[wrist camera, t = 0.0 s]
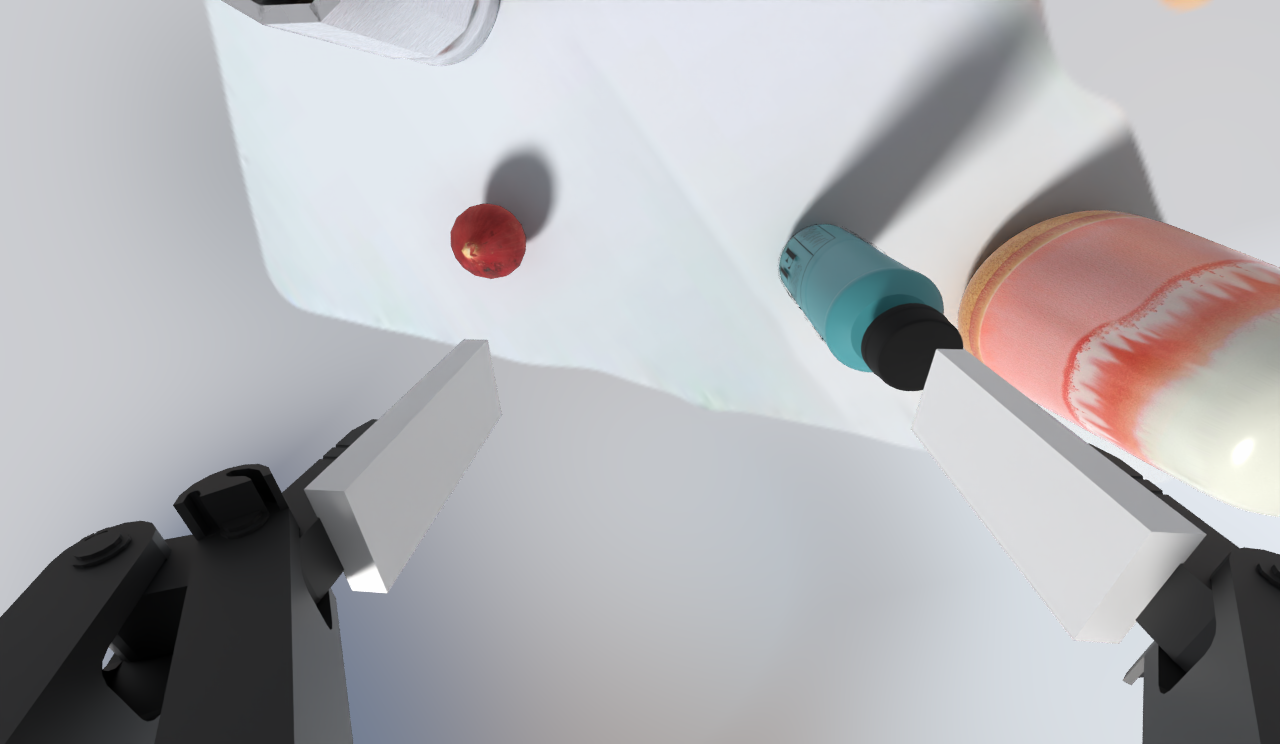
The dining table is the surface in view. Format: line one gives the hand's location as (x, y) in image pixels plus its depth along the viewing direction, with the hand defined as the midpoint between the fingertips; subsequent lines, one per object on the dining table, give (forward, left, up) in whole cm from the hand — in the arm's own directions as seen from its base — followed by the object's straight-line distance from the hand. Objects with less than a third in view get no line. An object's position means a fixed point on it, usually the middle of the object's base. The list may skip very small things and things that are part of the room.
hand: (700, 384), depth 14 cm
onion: (+1, -16, -28) cm, 33 cm away
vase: (+6, +30, -28) cm, 41 cm away
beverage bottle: (+3, +11, -28) cm, 30 cm away
